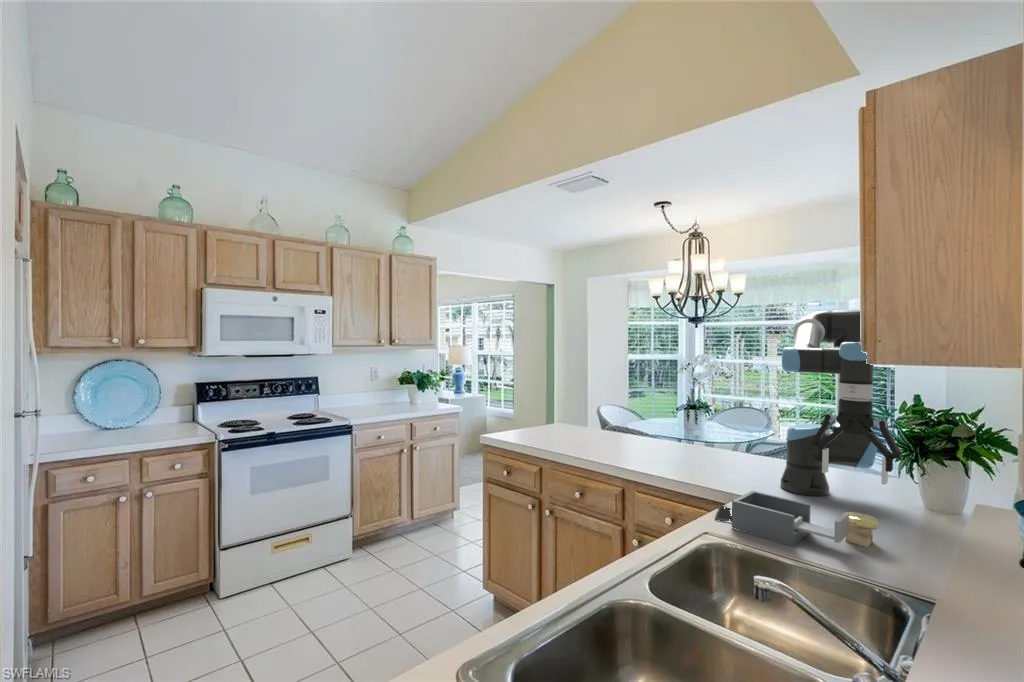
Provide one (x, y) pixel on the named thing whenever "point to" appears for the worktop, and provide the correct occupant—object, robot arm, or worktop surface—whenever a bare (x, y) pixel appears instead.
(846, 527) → the grey i-beam
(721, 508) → the cell phone
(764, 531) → the box
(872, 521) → the disc
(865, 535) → the pedestal
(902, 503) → the worktop surface
